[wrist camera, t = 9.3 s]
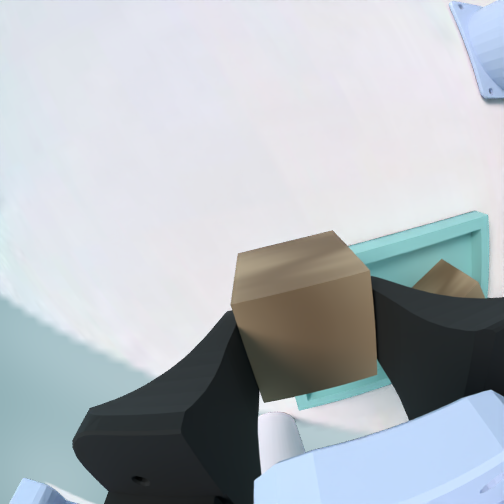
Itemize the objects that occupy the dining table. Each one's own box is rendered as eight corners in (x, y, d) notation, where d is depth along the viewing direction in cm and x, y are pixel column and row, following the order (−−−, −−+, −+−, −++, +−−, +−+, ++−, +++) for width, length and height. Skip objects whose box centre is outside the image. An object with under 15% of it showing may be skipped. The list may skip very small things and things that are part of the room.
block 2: (441, 258, 19) (478, 282, 14) (461, 295, 20) (494, 321, 15) (401, 296, 20) (431, 328, 15) (423, 330, 20) (452, 363, 16)
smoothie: (309, 443, 24) (331, 577, 11) (239, 449, 24) (234, 584, 11) (313, 396, 22) (347, 557, 9) (231, 402, 22) (219, 567, 9)
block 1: (332, 230, 13) (370, 270, 8) (345, 313, 14) (377, 374, 10) (237, 253, 13) (230, 304, 9) (261, 333, 14) (264, 402, 10)
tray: (474, 210, 18) (488, 214, 17) (472, 335, 21) (481, 345, 20) (261, 268, 19) (262, 278, 18) (296, 396, 22) (298, 410, 21)
